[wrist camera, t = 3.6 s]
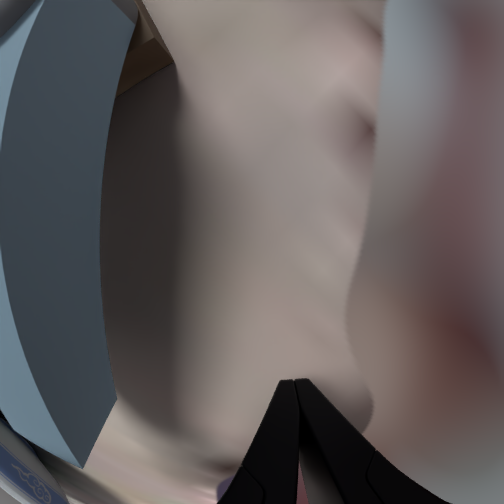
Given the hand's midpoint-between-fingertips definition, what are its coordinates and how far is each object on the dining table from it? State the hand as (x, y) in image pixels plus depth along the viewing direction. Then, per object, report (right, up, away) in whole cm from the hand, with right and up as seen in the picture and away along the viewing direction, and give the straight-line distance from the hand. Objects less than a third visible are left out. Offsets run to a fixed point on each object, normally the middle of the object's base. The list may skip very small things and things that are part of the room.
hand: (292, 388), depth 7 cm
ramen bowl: (-28, -16, +8) cm, 33 cm away
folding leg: (-7, +5, -1) cm, 8 cm away
